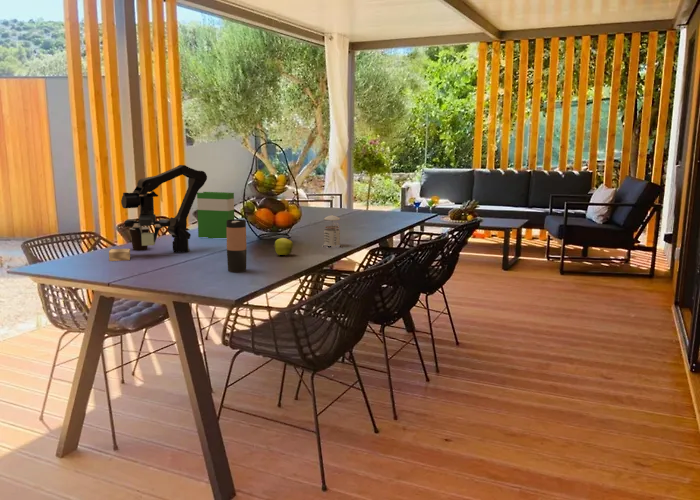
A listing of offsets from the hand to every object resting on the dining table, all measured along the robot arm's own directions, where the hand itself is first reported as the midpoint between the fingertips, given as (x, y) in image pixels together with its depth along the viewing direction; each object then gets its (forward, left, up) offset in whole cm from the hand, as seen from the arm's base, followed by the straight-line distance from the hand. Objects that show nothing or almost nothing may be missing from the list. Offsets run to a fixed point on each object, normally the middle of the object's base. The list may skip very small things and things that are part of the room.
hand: (148, 242), depth 265 cm
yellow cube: (0, 0, -1) cm, 1 cm away
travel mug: (-39, +38, -6) cm, 55 cm away
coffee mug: (+6, -17, -6) cm, 19 cm away
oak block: (+11, +8, -6) cm, 15 cm away
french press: (-85, -16, -6) cm, 87 cm away
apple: (-59, +7, -6) cm, 60 cm away
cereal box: (-27, -50, -6) cm, 57 cm away
